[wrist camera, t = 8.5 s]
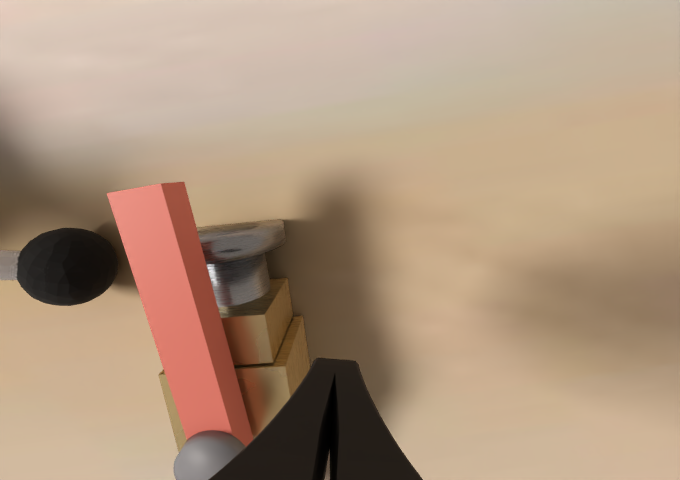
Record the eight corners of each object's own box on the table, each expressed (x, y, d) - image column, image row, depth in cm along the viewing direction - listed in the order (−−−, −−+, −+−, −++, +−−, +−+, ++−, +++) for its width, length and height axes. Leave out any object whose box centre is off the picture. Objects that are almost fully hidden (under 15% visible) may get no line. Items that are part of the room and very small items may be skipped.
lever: (267, 453, 15) (254, 499, 13) (207, 459, 15) (184, 505, 13) (196, 179, 12) (163, 182, 10) (124, 192, 12) (78, 196, 10)
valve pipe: (327, 459, 23) (317, 564, 17) (246, 462, 23) (209, 566, 17) (293, 215, 19) (264, 237, 13) (197, 224, 19) (125, 250, 13)
